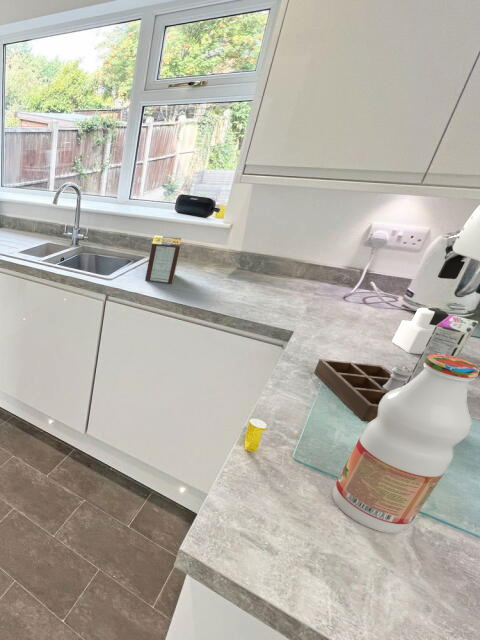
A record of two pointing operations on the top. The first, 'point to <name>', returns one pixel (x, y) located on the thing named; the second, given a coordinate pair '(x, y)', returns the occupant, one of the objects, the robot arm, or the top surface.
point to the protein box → (163, 259)
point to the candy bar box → (446, 340)
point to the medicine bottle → (418, 330)
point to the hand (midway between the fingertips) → (464, 285)
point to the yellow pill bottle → (254, 434)
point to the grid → (355, 385)
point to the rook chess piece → (397, 378)
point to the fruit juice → (407, 446)
